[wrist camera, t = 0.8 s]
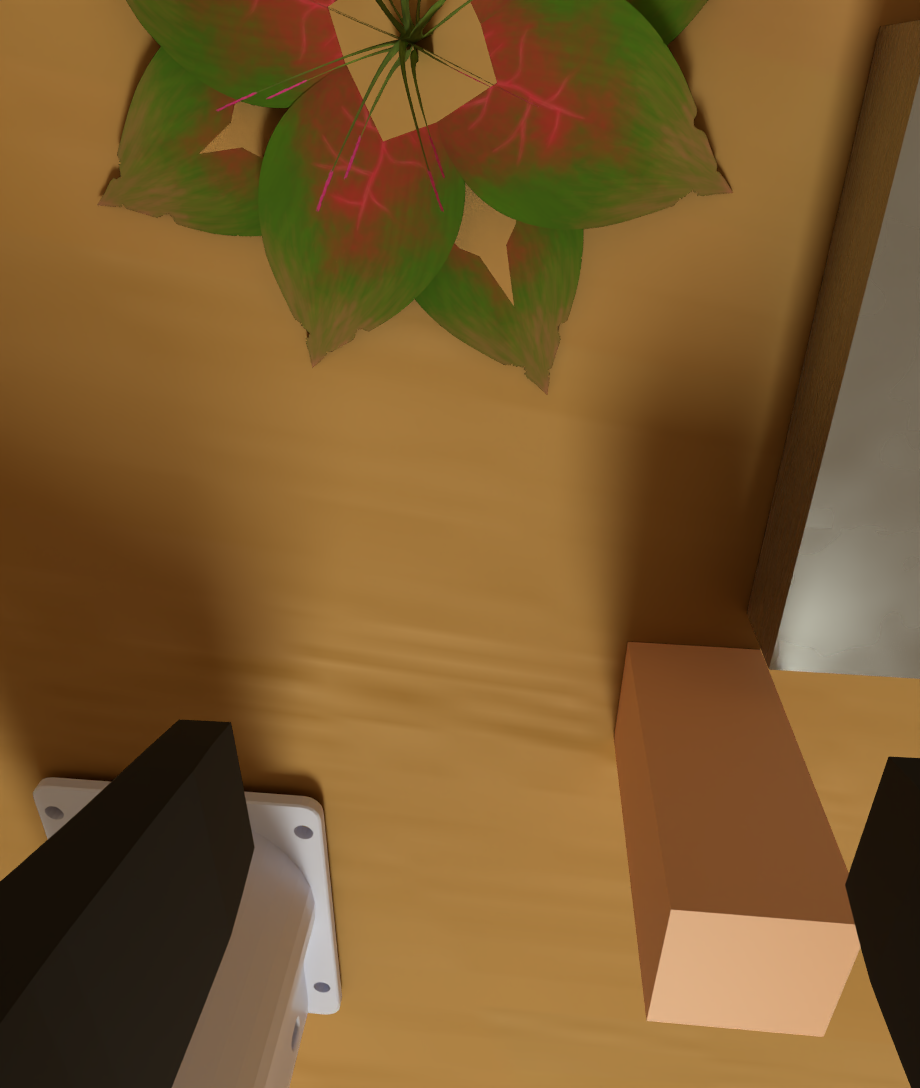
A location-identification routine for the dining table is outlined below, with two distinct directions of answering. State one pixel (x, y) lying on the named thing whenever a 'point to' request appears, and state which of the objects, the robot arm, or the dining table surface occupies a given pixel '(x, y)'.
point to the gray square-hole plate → (857, 415)
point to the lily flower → (417, 157)
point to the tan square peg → (727, 847)
